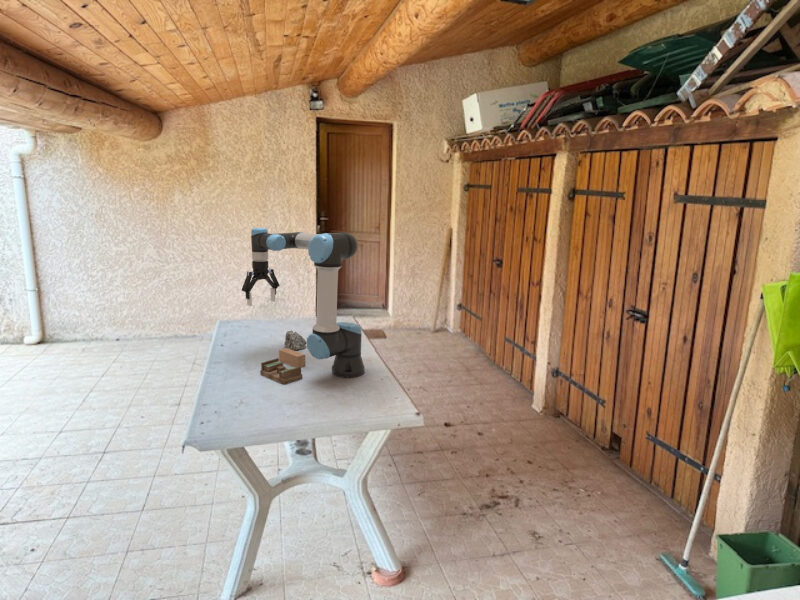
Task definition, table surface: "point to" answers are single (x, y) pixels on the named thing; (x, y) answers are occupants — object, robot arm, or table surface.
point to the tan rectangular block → (292, 357)
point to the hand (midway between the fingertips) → (261, 303)
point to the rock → (294, 341)
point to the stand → (280, 372)
